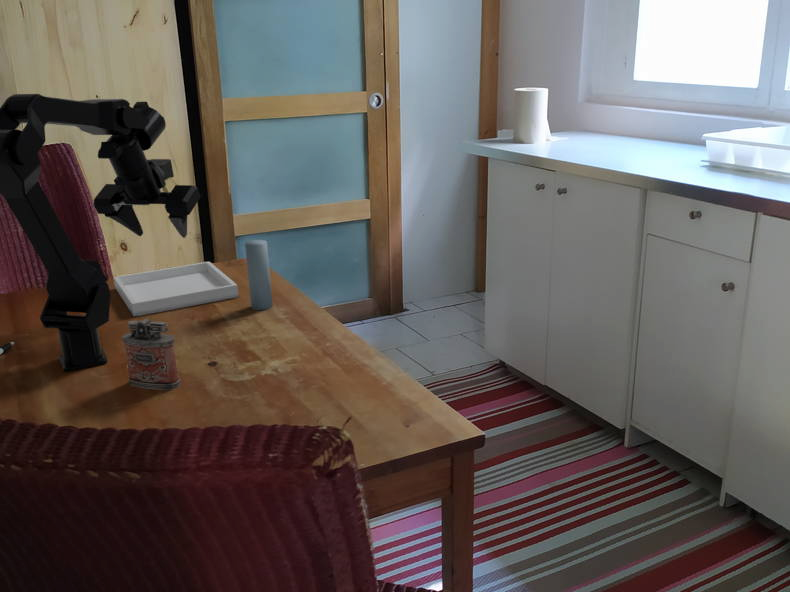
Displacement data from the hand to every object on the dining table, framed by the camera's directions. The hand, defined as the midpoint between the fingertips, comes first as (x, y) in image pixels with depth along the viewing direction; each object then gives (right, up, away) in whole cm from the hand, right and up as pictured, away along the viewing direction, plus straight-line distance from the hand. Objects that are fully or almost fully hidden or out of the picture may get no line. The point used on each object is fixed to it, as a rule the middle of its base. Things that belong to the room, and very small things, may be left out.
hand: (163, 235), depth 141 cm
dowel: (+18, -13, +2) cm, 23 cm away
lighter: (+8, -24, -29) cm, 39 cm away
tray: (-1, -11, +12) cm, 16 cm away
